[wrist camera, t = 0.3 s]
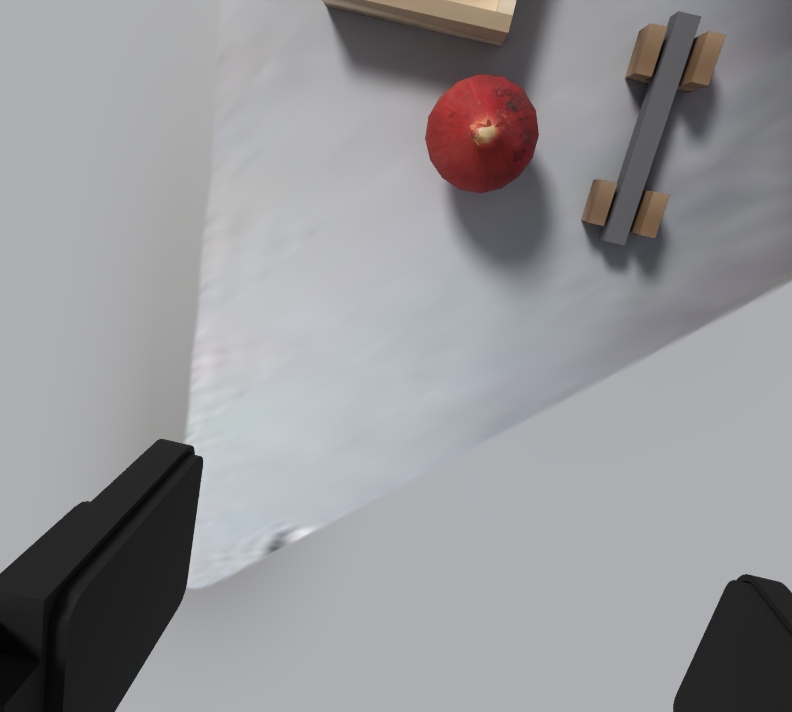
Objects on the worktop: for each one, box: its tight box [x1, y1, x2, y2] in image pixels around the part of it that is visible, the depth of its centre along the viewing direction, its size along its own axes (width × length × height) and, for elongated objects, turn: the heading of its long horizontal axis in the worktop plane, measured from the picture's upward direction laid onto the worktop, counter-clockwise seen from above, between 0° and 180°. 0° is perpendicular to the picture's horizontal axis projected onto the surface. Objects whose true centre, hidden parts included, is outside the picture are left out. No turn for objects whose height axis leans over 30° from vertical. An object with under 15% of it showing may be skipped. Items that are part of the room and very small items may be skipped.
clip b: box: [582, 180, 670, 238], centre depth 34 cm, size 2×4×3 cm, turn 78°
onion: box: [425, 74, 539, 193], centre depth 31 cm, size 6×6×8 cm
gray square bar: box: [599, 12, 701, 246], centre depth 33 cm, size 12×1×1 cm, turn 167°
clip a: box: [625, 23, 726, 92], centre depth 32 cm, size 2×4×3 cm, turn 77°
